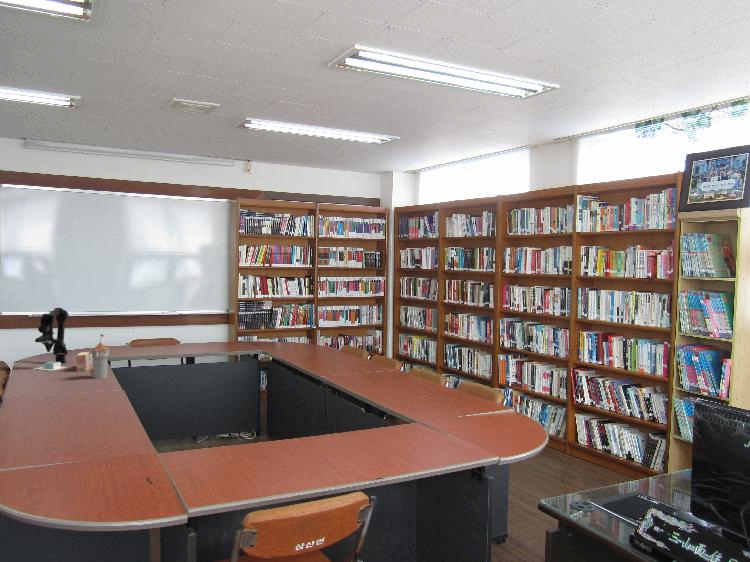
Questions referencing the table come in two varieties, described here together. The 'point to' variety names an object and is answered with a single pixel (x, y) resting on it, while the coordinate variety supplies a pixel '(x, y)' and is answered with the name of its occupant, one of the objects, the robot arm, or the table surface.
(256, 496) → the table surface
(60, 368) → the mat
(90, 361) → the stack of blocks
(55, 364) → the turquoise box
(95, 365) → the model building
